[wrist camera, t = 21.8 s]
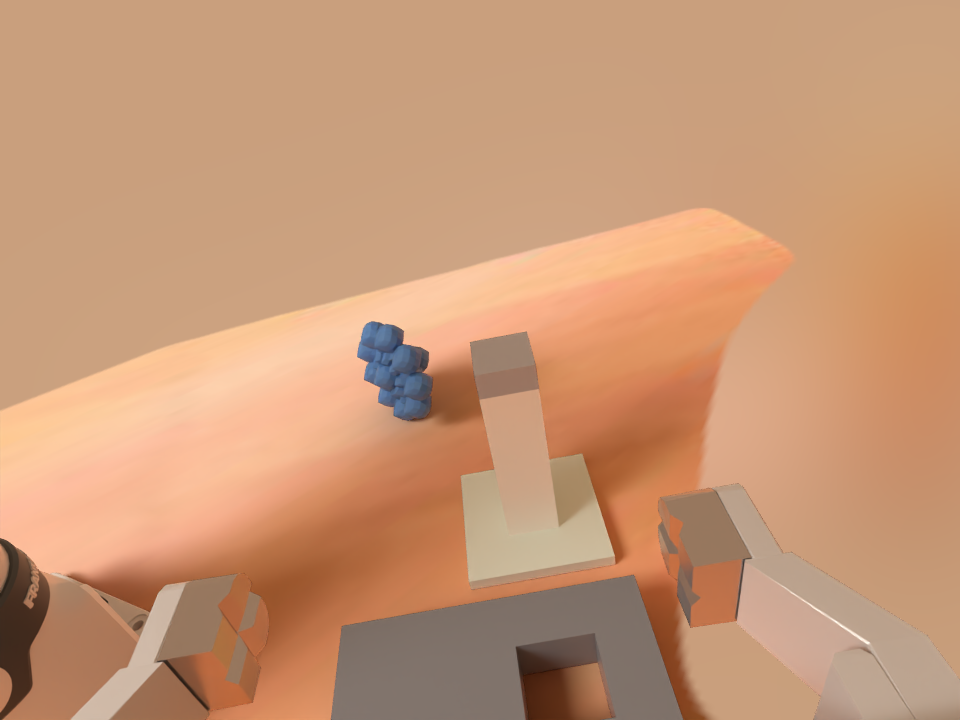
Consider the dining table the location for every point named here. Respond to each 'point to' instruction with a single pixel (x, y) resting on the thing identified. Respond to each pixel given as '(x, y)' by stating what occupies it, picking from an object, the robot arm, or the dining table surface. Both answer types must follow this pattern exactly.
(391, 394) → the grapes
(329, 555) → the dining table surface
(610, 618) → the block
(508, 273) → the dining table surface
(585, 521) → the sage pad
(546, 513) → the cream plug
